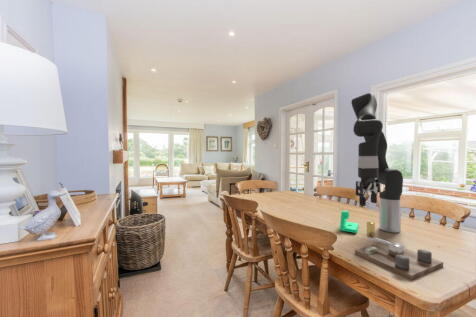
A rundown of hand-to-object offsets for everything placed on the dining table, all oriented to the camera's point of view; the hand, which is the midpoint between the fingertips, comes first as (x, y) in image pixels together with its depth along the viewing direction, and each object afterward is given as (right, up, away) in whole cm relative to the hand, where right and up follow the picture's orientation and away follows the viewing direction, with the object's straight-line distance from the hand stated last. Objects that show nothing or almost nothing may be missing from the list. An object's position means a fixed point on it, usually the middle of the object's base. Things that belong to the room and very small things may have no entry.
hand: (368, 204), depth 93 cm
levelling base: (+7, -20, -7) cm, 23 cm away
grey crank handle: (+5, -18, -3) cm, 19 cm away
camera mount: (+5, -20, +26) cm, 33 cm away
